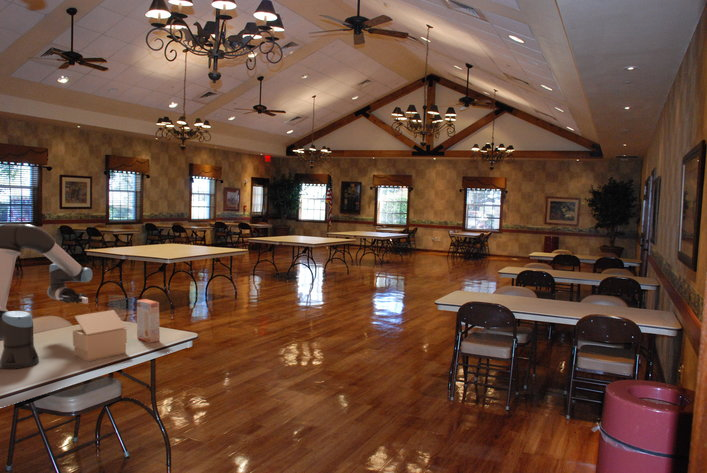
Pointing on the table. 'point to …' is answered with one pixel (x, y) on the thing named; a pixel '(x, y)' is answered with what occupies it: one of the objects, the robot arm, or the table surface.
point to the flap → (100, 322)
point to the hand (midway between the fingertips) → (86, 300)
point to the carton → (99, 344)
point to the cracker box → (148, 320)
